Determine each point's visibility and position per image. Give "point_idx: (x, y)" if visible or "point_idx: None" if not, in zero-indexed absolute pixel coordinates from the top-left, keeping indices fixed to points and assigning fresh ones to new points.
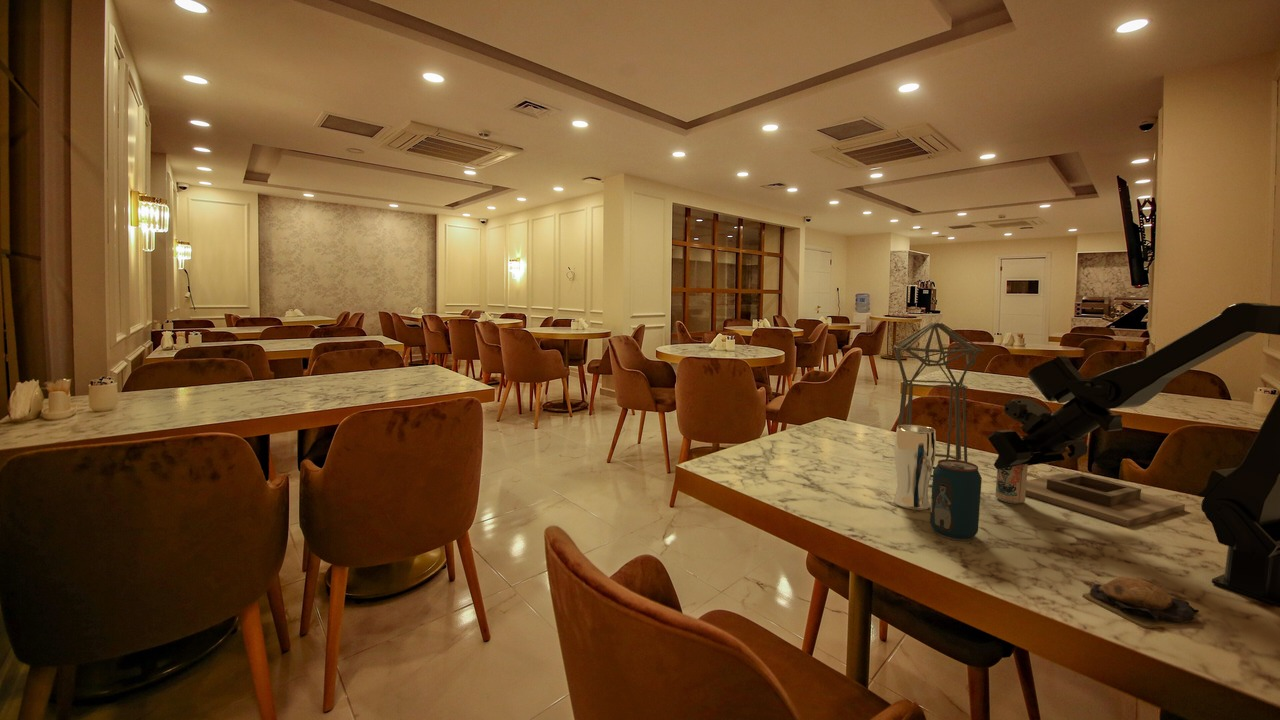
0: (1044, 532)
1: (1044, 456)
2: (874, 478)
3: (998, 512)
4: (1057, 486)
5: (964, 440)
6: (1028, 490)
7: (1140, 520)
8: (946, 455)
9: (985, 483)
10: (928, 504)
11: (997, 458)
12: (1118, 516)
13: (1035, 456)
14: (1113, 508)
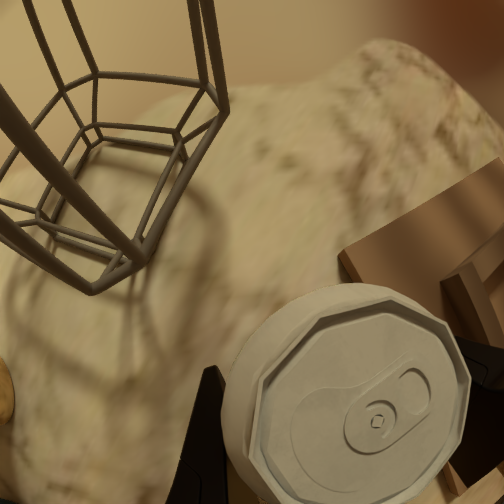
0: None
1: (464, 455)
2: (6, 192)
3: (173, 472)
4: (463, 305)
5: (53, 184)
6: None
7: None
8: (197, 84)
9: (298, 193)
10: (3, 420)
11: (191, 418)
12: (461, 480)
13: None
14: None
